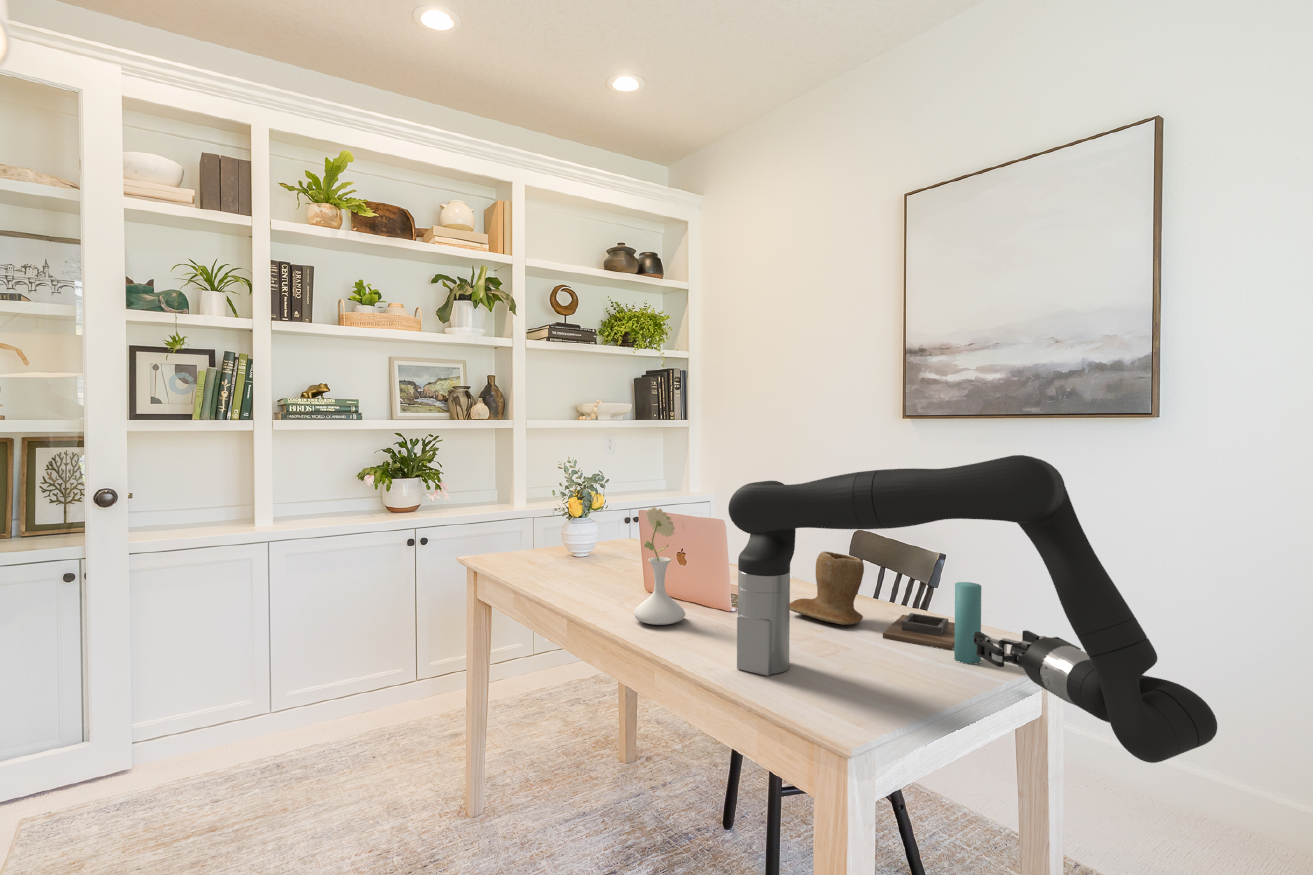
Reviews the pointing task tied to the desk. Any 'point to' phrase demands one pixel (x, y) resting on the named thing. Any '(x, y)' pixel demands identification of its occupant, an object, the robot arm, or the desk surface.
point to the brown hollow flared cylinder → (834, 590)
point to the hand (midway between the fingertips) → (1000, 636)
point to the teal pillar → (967, 621)
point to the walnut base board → (923, 631)
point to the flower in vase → (659, 578)
